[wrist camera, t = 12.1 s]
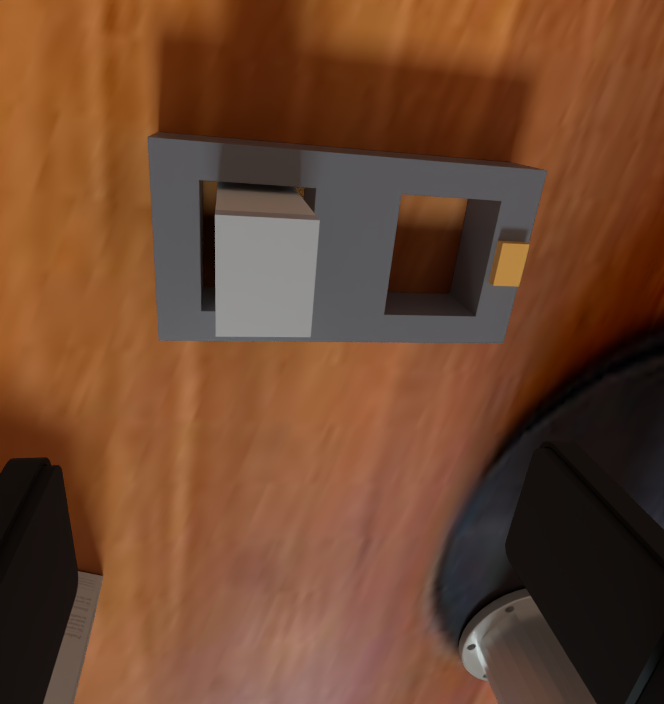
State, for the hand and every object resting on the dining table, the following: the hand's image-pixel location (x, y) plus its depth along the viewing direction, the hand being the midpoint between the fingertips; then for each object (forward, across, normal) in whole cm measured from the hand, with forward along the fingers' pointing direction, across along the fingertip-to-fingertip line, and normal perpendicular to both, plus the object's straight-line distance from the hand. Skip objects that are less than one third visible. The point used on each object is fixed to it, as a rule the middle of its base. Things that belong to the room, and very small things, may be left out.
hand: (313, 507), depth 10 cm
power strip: (+22, -5, 0) cm, 23 cm away
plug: (+22, 0, -1) cm, 22 cm away
